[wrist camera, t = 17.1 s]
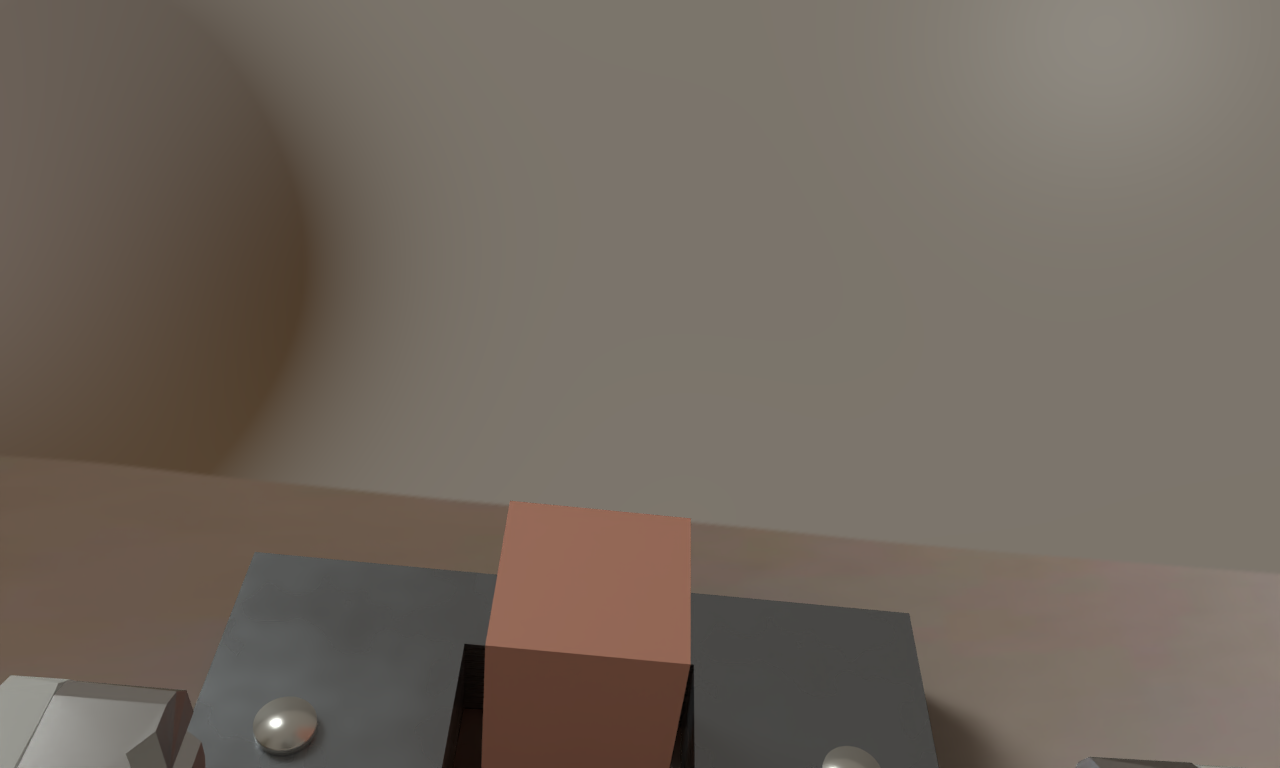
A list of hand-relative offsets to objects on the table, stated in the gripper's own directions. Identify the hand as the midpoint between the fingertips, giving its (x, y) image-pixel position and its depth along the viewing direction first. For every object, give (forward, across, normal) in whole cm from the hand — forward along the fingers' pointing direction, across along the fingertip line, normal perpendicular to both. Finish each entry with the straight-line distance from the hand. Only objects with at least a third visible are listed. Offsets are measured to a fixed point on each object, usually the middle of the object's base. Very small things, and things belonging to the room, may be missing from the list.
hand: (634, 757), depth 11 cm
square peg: (+12, +1, +21) cm, 24 cm away
